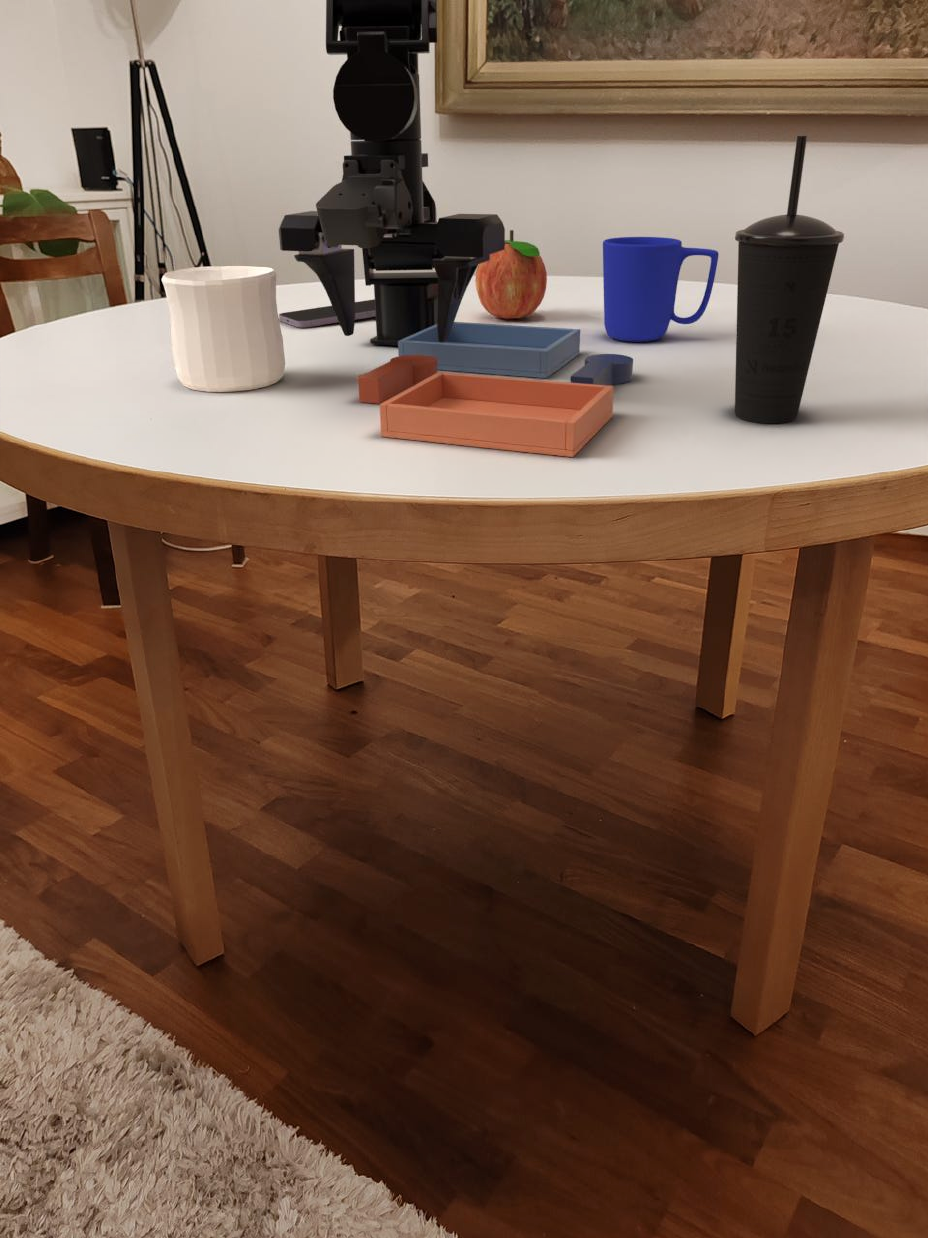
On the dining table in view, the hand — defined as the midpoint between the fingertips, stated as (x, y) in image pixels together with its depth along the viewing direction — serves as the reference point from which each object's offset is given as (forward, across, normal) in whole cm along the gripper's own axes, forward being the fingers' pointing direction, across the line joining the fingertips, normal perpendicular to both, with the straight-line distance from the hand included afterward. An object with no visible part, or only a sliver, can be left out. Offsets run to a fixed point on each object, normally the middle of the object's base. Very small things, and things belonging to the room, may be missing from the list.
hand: (395, 338), depth 84 cm
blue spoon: (+4, +17, +6) cm, 19 cm away
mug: (+5, +17, +29) cm, 34 cm away
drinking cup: (+5, +32, +1) cm, 32 cm away
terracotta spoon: (+4, 0, 0) cm, 4 cm away
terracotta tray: (+4, +13, -9) cm, 16 cm away
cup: (+5, -16, -3) cm, 17 cm away
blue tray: (+4, +4, +13) cm, 15 cm away
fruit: (+5, -2, +36) cm, 37 cm away
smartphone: (+5, -22, +30) cm, 38 cm away
